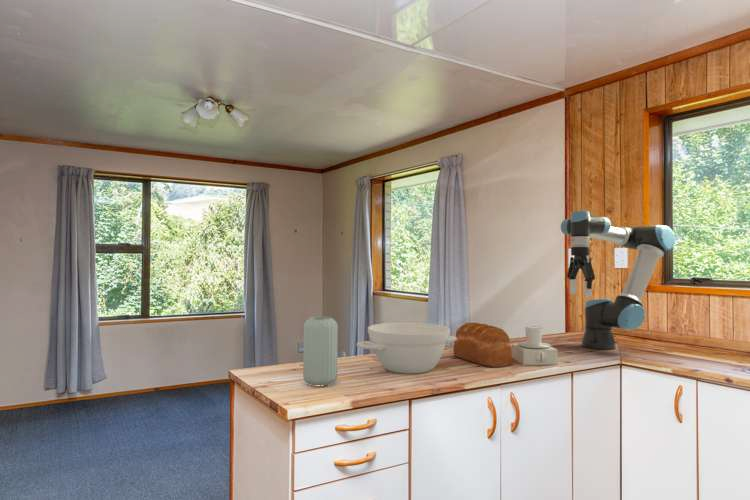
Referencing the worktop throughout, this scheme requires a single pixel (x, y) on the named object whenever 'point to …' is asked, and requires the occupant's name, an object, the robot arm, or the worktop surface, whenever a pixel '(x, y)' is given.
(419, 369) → the pot
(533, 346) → the kitchen scale
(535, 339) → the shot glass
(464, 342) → the bread
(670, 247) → the robot arm
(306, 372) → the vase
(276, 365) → the worktop surface
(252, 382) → the worktop surface
